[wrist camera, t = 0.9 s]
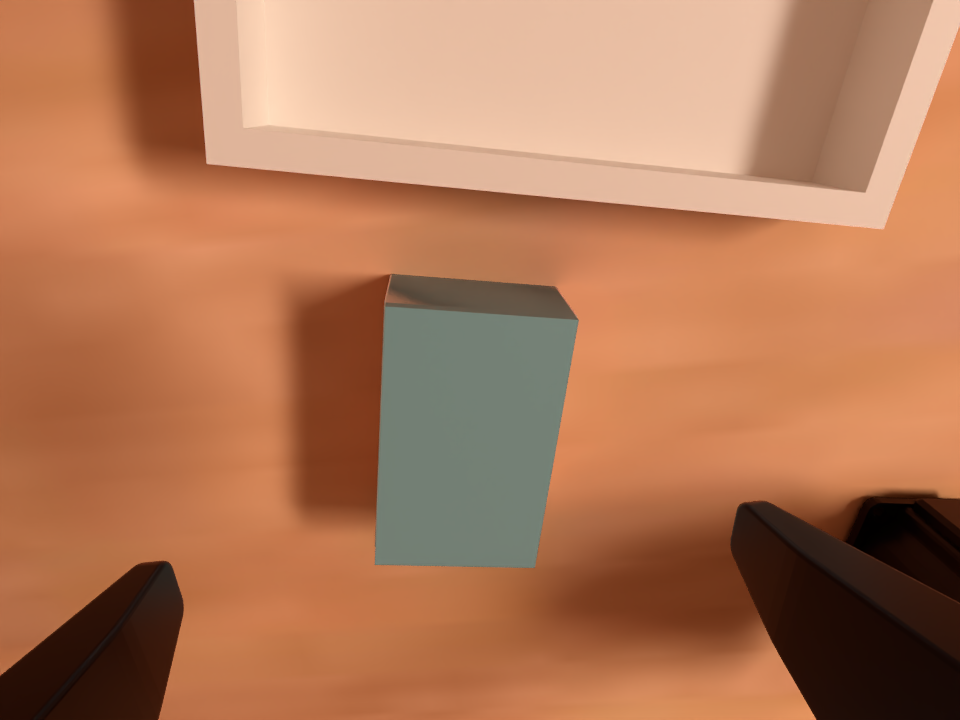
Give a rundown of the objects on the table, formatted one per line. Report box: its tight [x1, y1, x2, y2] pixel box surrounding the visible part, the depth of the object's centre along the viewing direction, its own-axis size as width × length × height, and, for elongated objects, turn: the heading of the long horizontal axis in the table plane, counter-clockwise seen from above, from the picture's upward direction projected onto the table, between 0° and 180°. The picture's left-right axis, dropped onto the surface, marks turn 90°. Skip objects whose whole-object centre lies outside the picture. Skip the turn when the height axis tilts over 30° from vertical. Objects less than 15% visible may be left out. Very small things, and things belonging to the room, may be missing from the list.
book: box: [375, 274, 579, 568], centre depth 22 cm, size 10×6×4 cm, turn 174°
